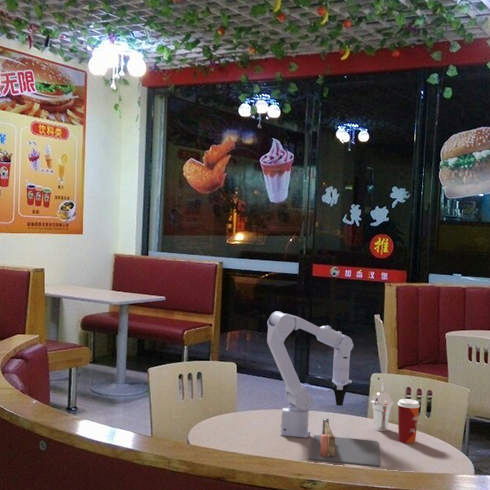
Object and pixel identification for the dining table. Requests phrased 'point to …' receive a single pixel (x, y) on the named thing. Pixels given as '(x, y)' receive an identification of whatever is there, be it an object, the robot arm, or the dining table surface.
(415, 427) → the paper cup
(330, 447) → the gate
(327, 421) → the hinge post
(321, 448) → the post
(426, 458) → the dining table surface
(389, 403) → the cup with straw
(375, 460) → the mat
